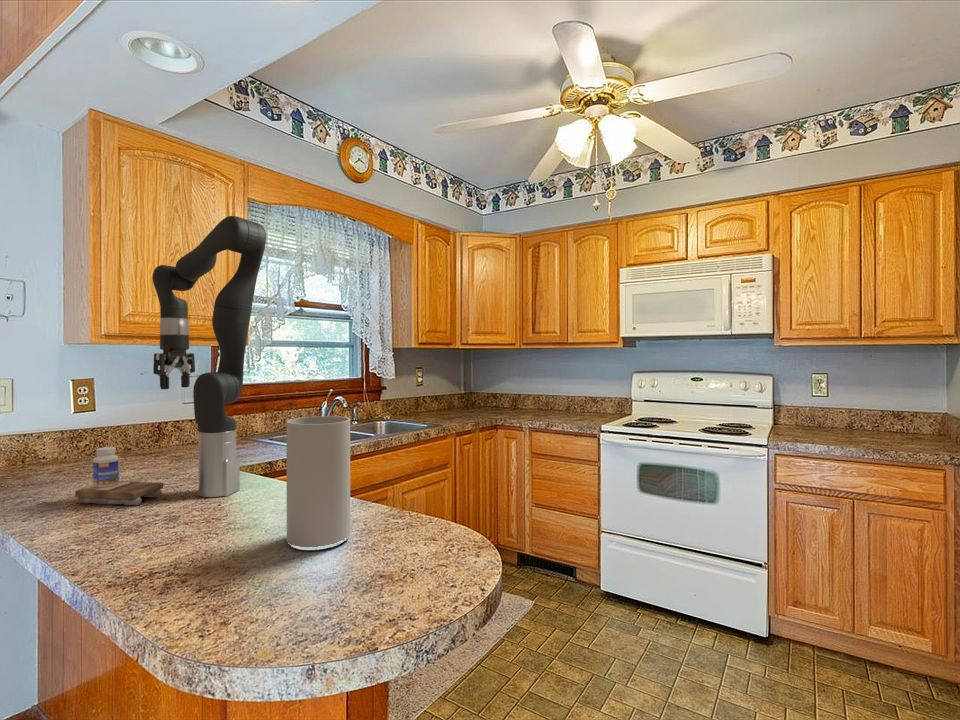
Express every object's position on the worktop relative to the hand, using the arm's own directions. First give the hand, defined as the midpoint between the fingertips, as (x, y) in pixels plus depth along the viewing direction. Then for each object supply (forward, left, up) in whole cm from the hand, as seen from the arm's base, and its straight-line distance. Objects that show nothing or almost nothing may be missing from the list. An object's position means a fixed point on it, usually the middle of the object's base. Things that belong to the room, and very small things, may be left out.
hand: (175, 388), depth 150 cm
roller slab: (+1, +19, -28) cm, 34 cm away
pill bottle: (+5, +19, -24) cm, 31 cm away
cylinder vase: (-62, +40, -28) cm, 79 cm away
